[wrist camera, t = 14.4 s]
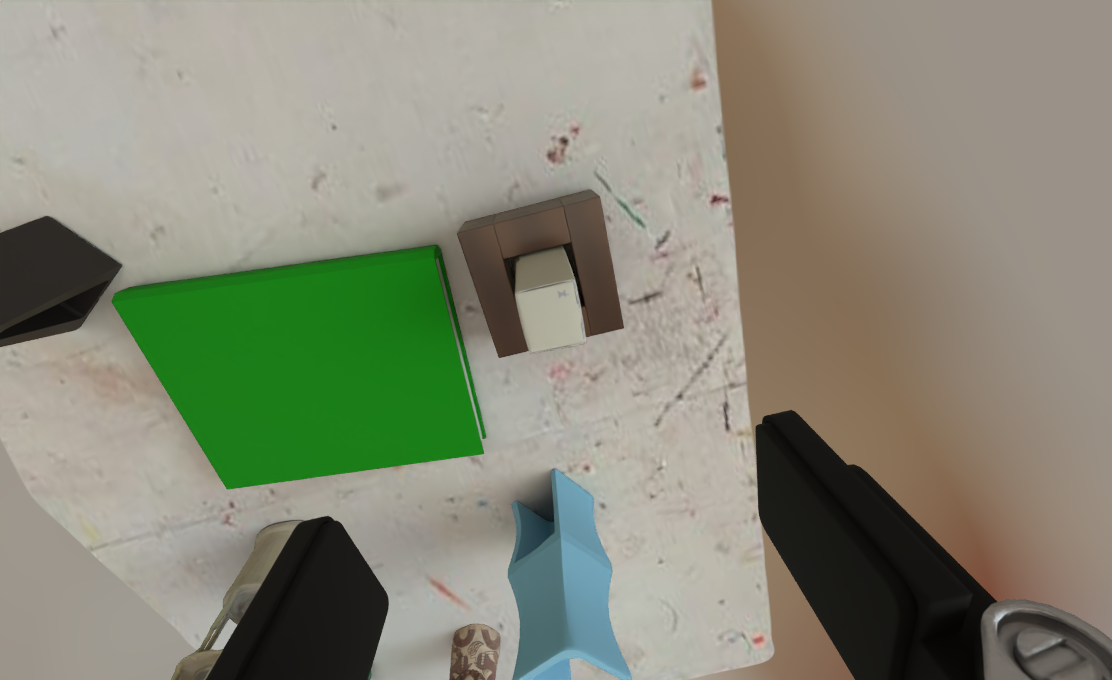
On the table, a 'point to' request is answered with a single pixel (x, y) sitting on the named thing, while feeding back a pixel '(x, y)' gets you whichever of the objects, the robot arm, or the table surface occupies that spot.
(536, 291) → the box
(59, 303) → the phone stand
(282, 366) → the book
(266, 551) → the lamp
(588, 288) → the brown frame
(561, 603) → the vase
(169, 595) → the table surface
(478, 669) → the figurine
